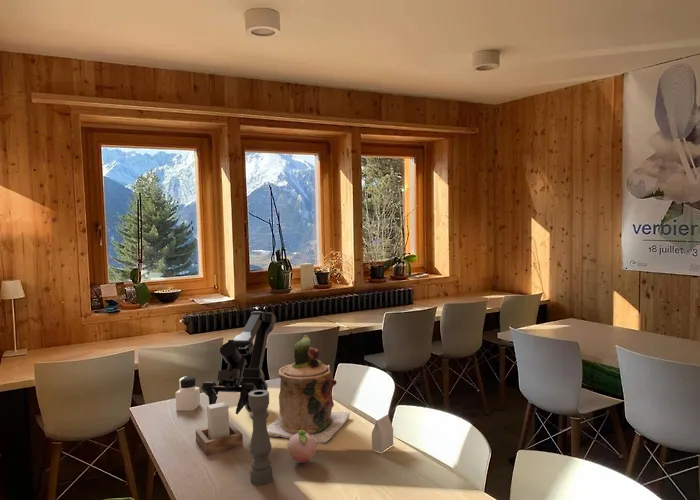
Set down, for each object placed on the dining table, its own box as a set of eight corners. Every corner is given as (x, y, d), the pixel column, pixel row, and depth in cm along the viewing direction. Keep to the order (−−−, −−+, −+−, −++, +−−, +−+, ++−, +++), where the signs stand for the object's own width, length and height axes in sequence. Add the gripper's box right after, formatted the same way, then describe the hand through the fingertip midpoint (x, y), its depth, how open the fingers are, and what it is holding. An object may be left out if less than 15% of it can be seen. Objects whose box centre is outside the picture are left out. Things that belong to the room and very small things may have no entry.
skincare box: (225, 436, 181) (224, 401, 180) (230, 440, 177) (228, 405, 176) (207, 440, 178) (206, 405, 177) (211, 445, 174) (210, 408, 173)
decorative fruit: (284, 458, 166) (283, 427, 165) (310, 454, 169) (309, 422, 168) (292, 472, 157) (291, 439, 156) (319, 467, 160) (318, 434, 159)
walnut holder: (231, 433, 186) (230, 422, 185) (242, 446, 175) (242, 434, 175) (195, 441, 179) (195, 430, 179) (206, 455, 169) (205, 443, 169)
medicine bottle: (200, 404, 215) (199, 374, 214) (193, 411, 208) (192, 380, 207) (183, 404, 216) (182, 374, 215) (175, 410, 208) (174, 380, 208)
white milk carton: (393, 446, 173) (392, 415, 173) (381, 454, 168) (381, 422, 167) (383, 443, 175) (383, 413, 175) (372, 451, 170) (371, 420, 169)
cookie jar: (259, 436, 183) (256, 343, 181) (290, 411, 206) (288, 328, 204) (328, 445, 175) (325, 348, 173) (352, 417, 198) (350, 331, 196)
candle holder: (251, 475, 156) (248, 390, 154) (273, 473, 156) (270, 389, 155) (249, 485, 150) (246, 397, 148) (271, 484, 150) (269, 396, 148)
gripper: (202, 358, 187) (188, 401, 177) (253, 360, 183) (242, 403, 173) (213, 374, 195) (200, 415, 185) (262, 375, 191) (252, 418, 182)
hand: (223, 413), depth 181 cm, fingers open, 9 cm apart
